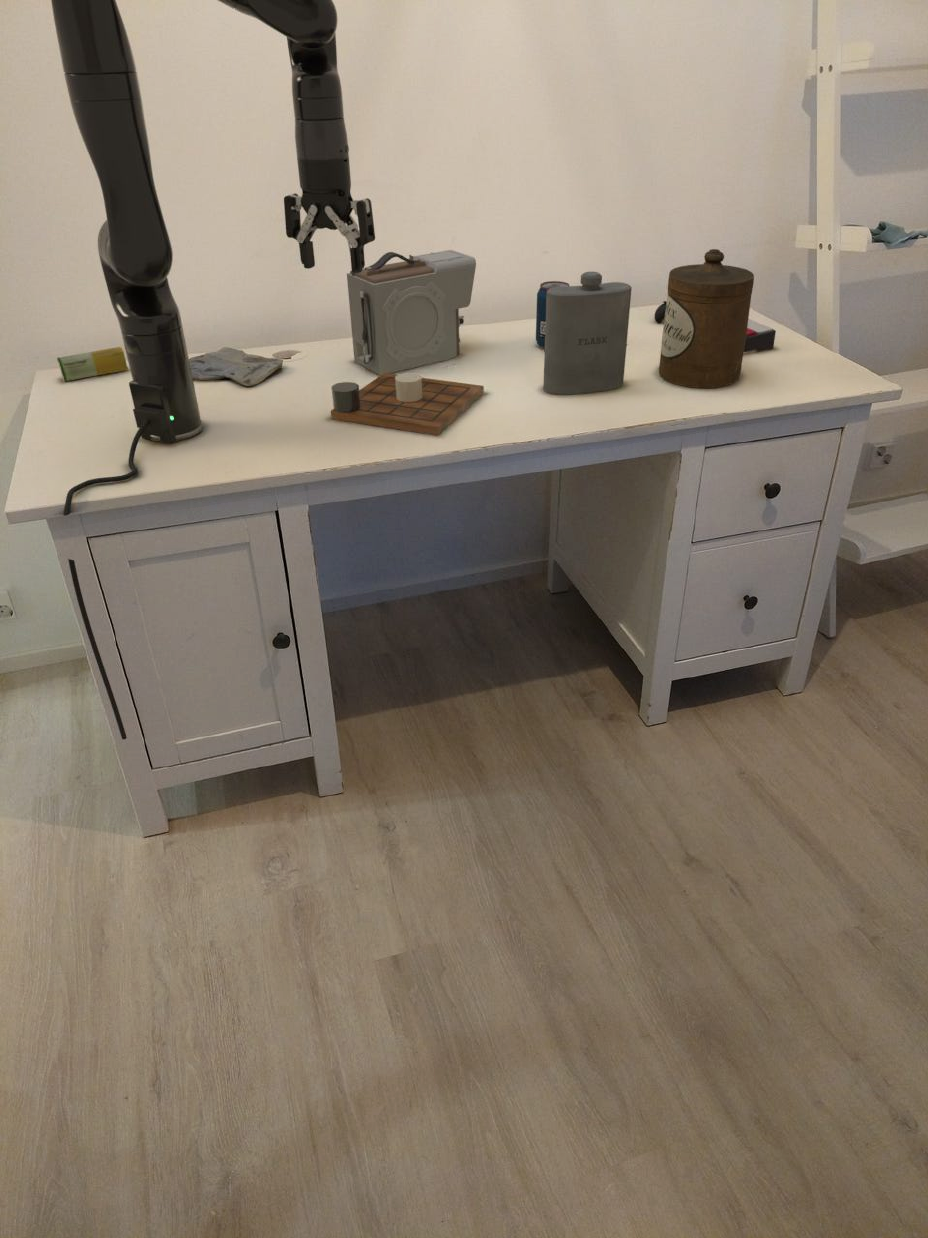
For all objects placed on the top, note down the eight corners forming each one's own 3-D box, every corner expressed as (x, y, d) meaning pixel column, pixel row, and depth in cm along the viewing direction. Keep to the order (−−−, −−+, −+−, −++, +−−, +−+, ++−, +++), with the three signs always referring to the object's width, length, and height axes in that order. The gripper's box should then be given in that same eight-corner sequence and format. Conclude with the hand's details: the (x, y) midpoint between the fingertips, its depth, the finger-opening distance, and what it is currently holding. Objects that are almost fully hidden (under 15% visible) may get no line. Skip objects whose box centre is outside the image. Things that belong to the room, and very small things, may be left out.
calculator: (680, 326, 178) (741, 312, 182) (678, 347, 180) (738, 333, 185) (715, 341, 170) (777, 326, 174) (712, 363, 172) (774, 348, 177)
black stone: (352, 413, 149) (350, 393, 147) (328, 410, 150) (326, 389, 148) (365, 404, 152) (363, 383, 150) (341, 400, 154) (339, 380, 152)
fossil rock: (290, 368, 173) (288, 356, 171) (239, 394, 162) (236, 381, 161) (221, 355, 180) (219, 343, 178) (167, 378, 169) (165, 366, 168)
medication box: (64, 382, 168) (58, 362, 166) (61, 377, 170) (55, 357, 168) (128, 370, 173) (123, 350, 170) (125, 364, 175) (120, 345, 172)
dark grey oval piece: (655, 319, 191) (655, 294, 192) (651, 332, 196) (652, 307, 197) (700, 320, 190) (700, 294, 191) (696, 332, 195) (696, 307, 197)
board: (437, 435, 145) (437, 426, 144) (331, 418, 151) (330, 410, 150) (483, 393, 160) (483, 385, 159) (385, 380, 166) (384, 372, 165)
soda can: (546, 338, 185) (548, 278, 178) (575, 343, 182) (579, 283, 175) (529, 347, 181) (530, 286, 174) (558, 353, 177) (561, 291, 170)
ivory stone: (415, 403, 152) (414, 383, 150) (391, 400, 154) (390, 379, 152) (426, 394, 156) (426, 374, 154) (403, 391, 157) (402, 371, 155)
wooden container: (653, 361, 172) (665, 241, 159) (730, 361, 171) (748, 240, 159) (664, 389, 160) (679, 261, 147) (747, 388, 159) (769, 259, 147)
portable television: (478, 352, 178) (477, 188, 161) (375, 377, 168) (362, 204, 150) (445, 337, 187) (441, 180, 169) (345, 360, 176) (330, 195, 159)
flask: (549, 397, 157) (553, 280, 146) (539, 386, 162) (543, 272, 151) (628, 389, 160) (639, 274, 149) (617, 378, 165) (626, 265, 153)
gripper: (266, 154, 129) (281, 271, 138) (353, 158, 124) (362, 279, 133) (294, 148, 134) (306, 260, 143) (378, 151, 130) (385, 268, 139)
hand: (333, 269), depth 138 cm, fingers open, 8 cm apart
